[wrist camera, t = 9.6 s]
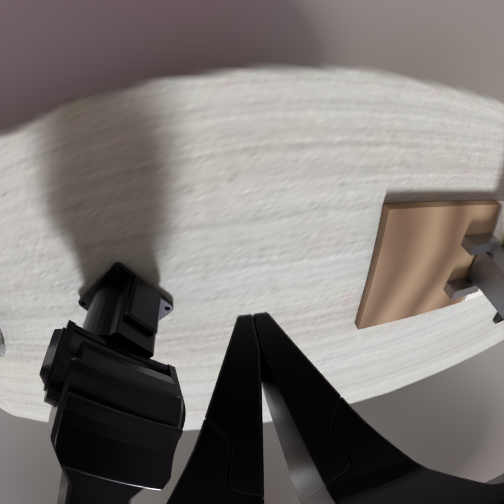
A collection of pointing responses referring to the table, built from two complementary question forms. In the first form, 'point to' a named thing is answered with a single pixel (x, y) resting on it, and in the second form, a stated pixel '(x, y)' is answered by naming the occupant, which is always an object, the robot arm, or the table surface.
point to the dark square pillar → (490, 276)
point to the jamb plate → (500, 231)
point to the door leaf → (420, 257)
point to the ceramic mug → (2, 347)
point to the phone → (497, 318)
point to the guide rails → (472, 246)
